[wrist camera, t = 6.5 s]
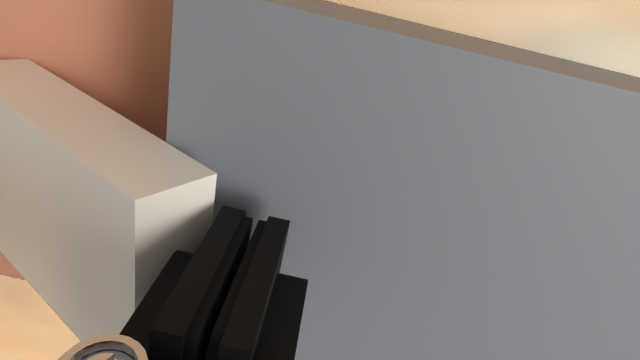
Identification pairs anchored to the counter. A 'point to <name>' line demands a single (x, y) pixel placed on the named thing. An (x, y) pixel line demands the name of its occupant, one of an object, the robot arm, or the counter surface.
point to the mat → (97, 54)
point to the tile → (90, 200)
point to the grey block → (420, 179)
